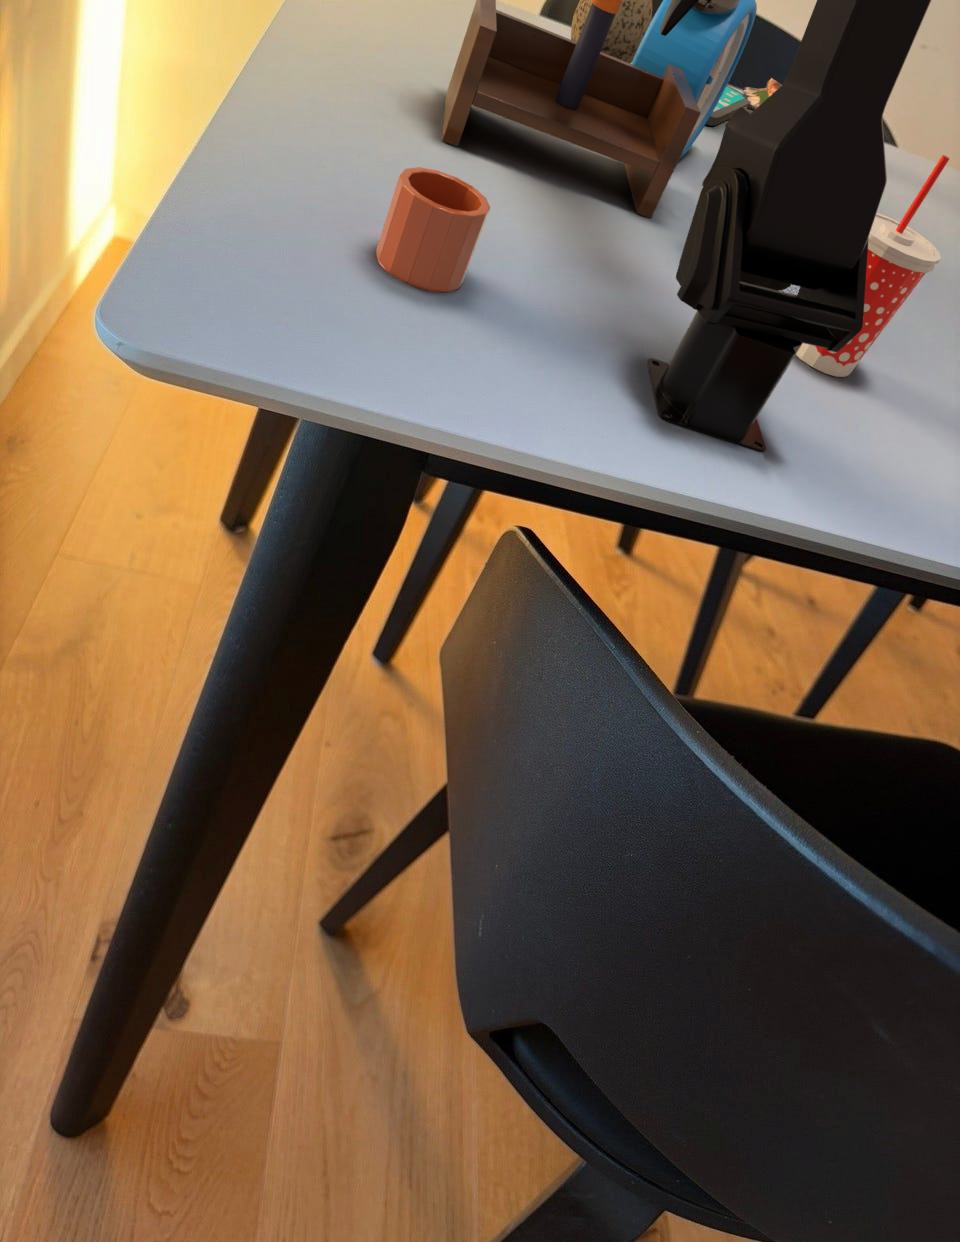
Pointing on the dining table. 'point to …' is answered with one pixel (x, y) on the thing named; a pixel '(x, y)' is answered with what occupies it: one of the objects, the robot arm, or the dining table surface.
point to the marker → (587, 52)
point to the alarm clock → (700, 49)
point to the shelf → (608, 112)
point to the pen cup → (431, 229)
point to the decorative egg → (619, 27)
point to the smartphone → (728, 106)
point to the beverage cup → (883, 283)
